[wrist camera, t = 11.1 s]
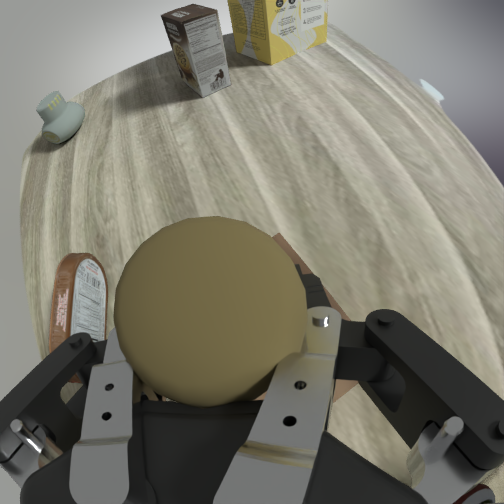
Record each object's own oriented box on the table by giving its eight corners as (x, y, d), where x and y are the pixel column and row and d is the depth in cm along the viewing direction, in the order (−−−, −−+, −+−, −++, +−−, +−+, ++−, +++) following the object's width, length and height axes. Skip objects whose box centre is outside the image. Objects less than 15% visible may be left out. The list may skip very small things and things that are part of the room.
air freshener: (95, 117, 47) (74, 83, 38) (72, 147, 45) (46, 114, 35) (67, 118, 50) (47, 89, 40) (46, 145, 47) (23, 116, 38)
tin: (96, 267, 34) (57, 241, 26) (115, 265, 33) (76, 238, 26) (91, 382, 28) (44, 380, 20) (111, 385, 28) (65, 385, 20)
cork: (177, 364, 16) (46, 344, 6) (221, 277, 18) (156, 156, 8) (269, 409, 14) (260, 483, 4) (312, 316, 16) (370, 229, 6)
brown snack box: (181, 81, 47) (159, 15, 33) (209, 68, 48) (193, 2, 34) (202, 99, 44) (179, 21, 29) (233, 84, 45) (218, 8, 30)
